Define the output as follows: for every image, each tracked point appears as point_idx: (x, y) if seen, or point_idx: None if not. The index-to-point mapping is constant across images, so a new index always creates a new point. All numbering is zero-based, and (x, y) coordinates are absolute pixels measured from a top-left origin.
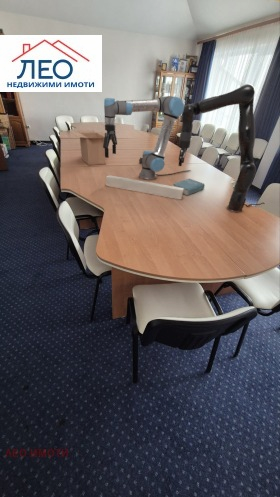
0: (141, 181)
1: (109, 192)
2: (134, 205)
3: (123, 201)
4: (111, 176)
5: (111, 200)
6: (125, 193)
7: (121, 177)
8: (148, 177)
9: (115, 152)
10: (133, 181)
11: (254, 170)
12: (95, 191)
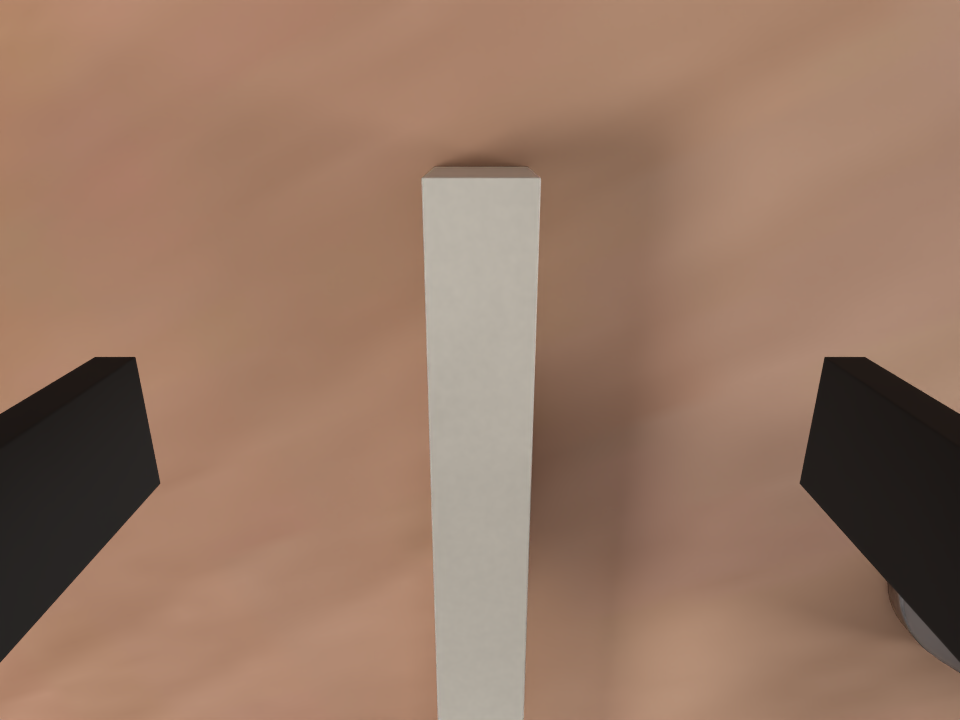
0: (497, 707)
1: (235, 316)
2: (93, 663)
3: (106, 550)
4: (489, 263)
5: None
6: (319, 497)
7: (524, 431)
8: (912, 619)
9: (828, 512)
10: (442, 628)
11: None
12: (148, 119)
